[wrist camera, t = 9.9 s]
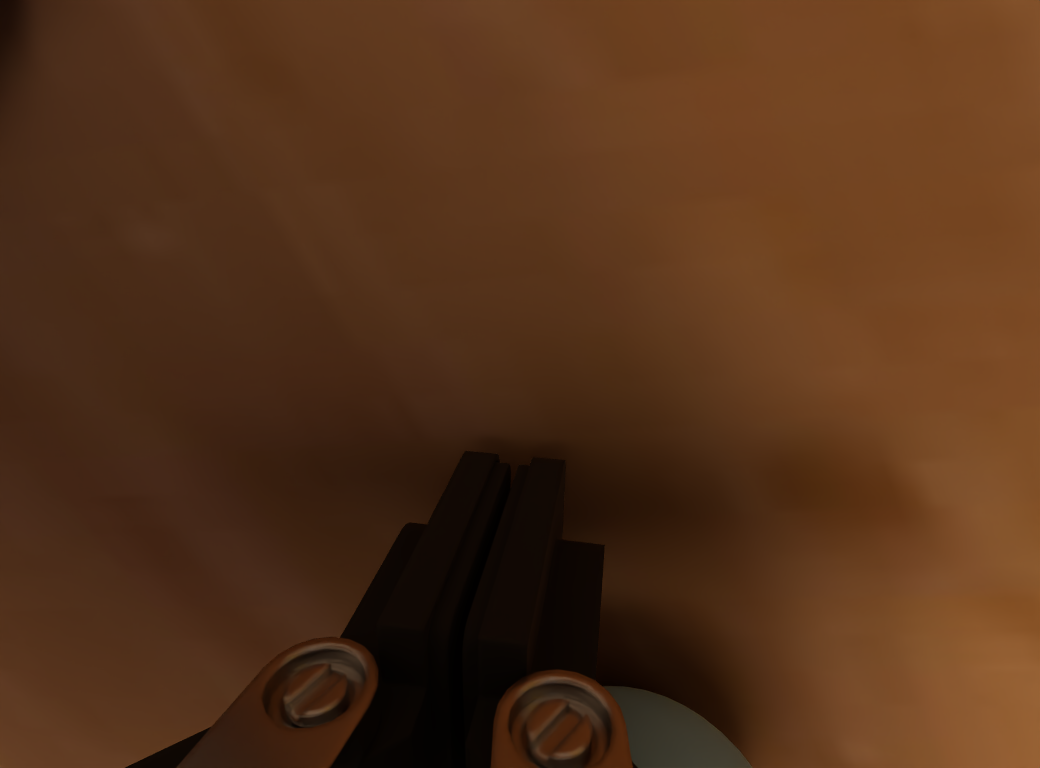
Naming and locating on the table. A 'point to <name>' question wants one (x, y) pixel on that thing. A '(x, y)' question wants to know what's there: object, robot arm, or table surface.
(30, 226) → the table surface
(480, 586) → the robot arm
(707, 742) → the ball
